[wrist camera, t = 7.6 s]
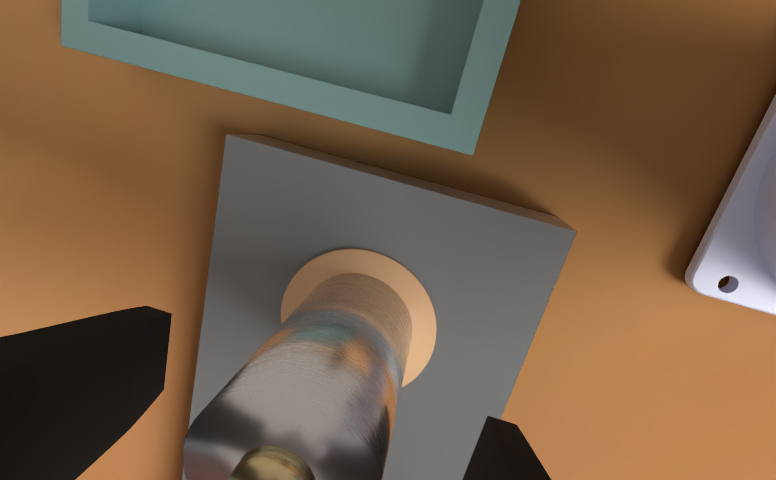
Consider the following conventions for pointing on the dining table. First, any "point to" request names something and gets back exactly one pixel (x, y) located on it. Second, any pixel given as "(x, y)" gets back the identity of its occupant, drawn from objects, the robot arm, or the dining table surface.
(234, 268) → the battery checker
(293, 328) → the steel cell
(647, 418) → the dining table surface
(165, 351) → the robot arm
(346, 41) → the trough
